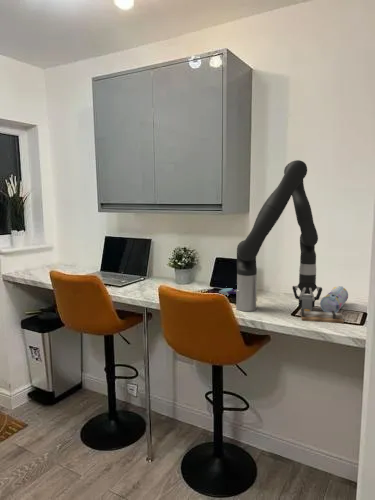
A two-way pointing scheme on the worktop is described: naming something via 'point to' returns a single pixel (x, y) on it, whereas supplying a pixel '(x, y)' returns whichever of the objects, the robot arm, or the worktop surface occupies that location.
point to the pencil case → (334, 299)
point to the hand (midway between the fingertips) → (306, 307)
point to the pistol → (228, 291)
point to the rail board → (322, 316)
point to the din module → (307, 302)
